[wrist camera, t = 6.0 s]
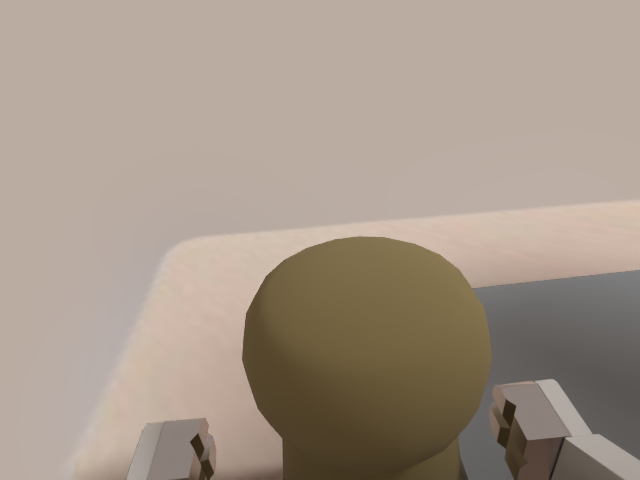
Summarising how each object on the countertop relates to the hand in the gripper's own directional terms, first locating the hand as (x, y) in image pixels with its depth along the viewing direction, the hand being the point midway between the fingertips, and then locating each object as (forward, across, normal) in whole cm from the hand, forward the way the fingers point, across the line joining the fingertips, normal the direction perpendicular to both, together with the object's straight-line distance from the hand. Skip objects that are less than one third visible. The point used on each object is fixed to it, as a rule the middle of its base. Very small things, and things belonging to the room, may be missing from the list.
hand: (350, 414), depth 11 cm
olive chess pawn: (0, 0, +6) cm, 6 cm away
